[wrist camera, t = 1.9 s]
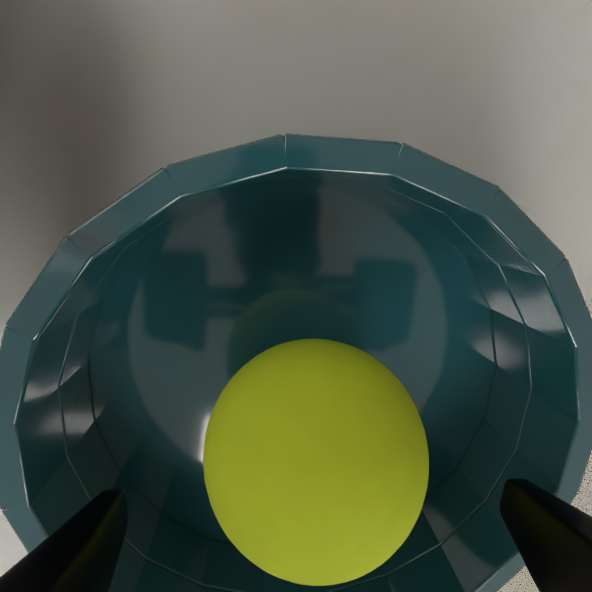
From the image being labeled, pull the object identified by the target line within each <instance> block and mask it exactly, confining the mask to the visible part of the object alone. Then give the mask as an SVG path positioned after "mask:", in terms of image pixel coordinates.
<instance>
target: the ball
mask: <svg viewBox="0 0 592 592" xmlns="http://www.w3.org/2000/svg"><path fill="white" fill-rule="evenodd" d="M203 468H204V479H205V485H206V489H207V493H208V496H209V500H210V504H211V507H212V509H213V511H214V514H215V516H216V518H217V520H218V522H219V524H220V526H221V528H222V529H223V531H224V532H225V534H226V535H227V537H228V538H229V539H230V541H231V542H232V543H233V544H234V546H235V547H236V548H237V549H238V550H239V551H240V552H241V553H242V554H243V555H244V556H245V557H246V558H247V559H249V560H250V561H251V562H252V563H254V564H255V565H256V566H258V567H259V568H261V569H262V570H264V571H265V572H267V573H269V574H271V575H273V576H275V577H278V578H281V579H283V580H286V581H289V582H292V583H297V584H302V585H310V586H326V585H335V584H340V583H344V582H348V581H351V580H354V579H357V578H359V577H361V576H364V575H366V574H367V573H369V572H371V571H373V570H374V569H376V568H377V567H379V566H380V565H382V564H383V563H384V562H385V561H386V560H388V559H389V558H390V557H391V556H392V555H393V554H394V553H395V552H396V550H397V549H398V548H399V547H400V546H401V545H402V544H403V543H404V541H405V540H406V539H407V537H408V536H409V534H410V532H411V530H412V529H413V527H414V525H415V523H416V521H417V519H418V517H419V514H420V512H421V509H422V506H423V502H424V499H425V494H426V490H427V486H428V477H429V452H428V445H427V440H426V435H425V430H424V427H423V424H422V421H421V418H420V416H419V413H418V410H417V408H416V406H415V404H414V402H413V401H412V399H411V397H410V395H409V394H408V392H407V390H406V389H405V387H404V386H403V385H402V384H401V382H400V381H399V380H398V378H397V377H396V376H395V375H394V374H393V373H392V372H391V371H390V370H389V369H388V368H387V367H386V366H384V365H383V364H382V363H381V362H379V361H378V360H377V359H375V358H374V357H372V356H371V355H369V354H368V353H366V352H364V351H362V350H360V349H358V348H356V347H354V346H351V345H348V344H345V343H341V342H337V341H332V340H327V339H300V340H294V341H289V342H286V343H282V344H279V345H276V346H274V347H272V348H270V349H267V350H265V351H264V352H262V353H260V354H259V355H257V356H255V357H254V358H253V359H252V360H250V361H249V362H248V363H246V364H245V365H244V366H243V367H242V368H241V369H240V370H239V371H238V372H237V373H236V374H235V375H234V376H233V377H232V378H231V380H230V381H229V382H228V384H227V385H226V386H225V388H224V389H223V391H222V392H221V394H220V396H219V398H218V400H217V401H216V403H215V406H214V408H213V411H212V413H211V416H210V419H209V422H208V425H207V430H206V434H205V440H204V450H203Z"/></svg>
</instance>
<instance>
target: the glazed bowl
mask: <svg viewBox="0 0 592 592" xmlns="http://www.w3.org/2000/svg"><path fill="white" fill-rule="evenodd" d="M300 339H327V340H332V341H337V342H341V343H345V344H348V345H351V346H354V347H356V348H358V349H360V350H362V351H364V352H366V353H368V354H369V355H371V356H372V357H374V358H375V359H377V360H378V361H379V362H381V363H382V364H383V365H384V366H386V367H387V368H388V369H389V370H390V371H391V372H392V373H393V374H394V375H395V376H396V377H397V378H398V380H399V381H400V382H401V384H402V385H403V386H404V387H405V389H406V390H407V392H408V394H409V395H410V397H411V399H412V401H413V402H414V404H415V406H416V408H417V410H418V413H419V416H420V418H421V421H422V424H423V427H424V430H425V435H426V440H427V445H428V452H429V477H428V486H427V490H426V494H425V499H424V502H423V506H422V509H421V512H420V514H419V517H418V519H417V521H416V523H415V525H414V527H413V529H412V530H411V532H410V534H409V536H408V537H407V539H406V540H405V541H404V543H403V544H402V545H401V546H400V547H399V548H398V549H397V550H396V552H395V553H394V554H393V555H392V556H391V557H390V558H389V559H388V560H386V561H385V562H384V563H383V564H382V565H380V566H379V567H377V568H376V569H374V570H373V571H371V572H369V573H367V574H366V575H364V576H361V577H359V578H357V579H354V580H351V581H348V582H344V583H340V584H335V585H326V586H310V585H302V584H297V583H292V582H289V581H286V580H283V579H281V578H278V577H275V576H273V575H271V574H269V573H267V572H265V571H264V570H262V569H261V568H259V567H258V566H256V565H255V564H254V563H252V562H251V561H250V560H249V559H247V558H246V557H245V556H244V555H243V554H242V553H241V552H240V551H239V550H238V549H237V548H236V547H235V546H234V544H233V543H232V542H231V541H230V539H229V538H228V537H227V535H226V534H225V532H224V531H223V529H222V528H221V526H220V524H219V522H218V520H217V518H216V516H215V514H214V511H213V509H212V507H211V504H210V500H209V496H208V493H207V489H206V485H205V479H204V468H203V450H204V440H205V434H206V430H207V425H208V422H209V419H210V416H211V413H212V411H213V408H214V406H215V403H216V401H217V400H218V398H219V396H220V394H221V392H222V391H223V389H224V388H225V386H226V385H227V384H228V382H229V381H230V380H231V378H232V377H233V376H234V375H235V374H236V373H237V372H238V371H239V370H240V369H241V368H242V367H243V366H244V365H245V364H246V363H248V362H249V361H250V360H252V359H253V358H254V357H255V356H257V355H259V354H260V353H262V352H264V351H265V350H267V349H270V348H272V347H274V346H276V345H279V344H282V343H286V342H289V341H294V340H300ZM591 450H592V318H591V316H590V313H589V311H588V308H587V306H586V303H585V301H584V298H583V296H582V293H581V291H580V289H579V286H578V284H577V281H576V279H575V276H574V274H573V271H572V269H571V266H570V264H569V262H568V260H567V259H566V258H565V255H564V254H563V253H562V252H561V251H560V250H559V249H558V248H557V247H556V246H555V244H554V243H553V242H552V241H551V240H550V239H549V238H548V237H547V236H546V235H545V234H544V233H543V232H542V231H541V230H540V229H539V228H538V227H537V226H536V225H535V224H534V223H533V222H532V221H531V220H530V219H529V218H528V216H527V215H526V214H525V213H524V212H523V211H522V210H521V209H520V208H519V207H518V206H517V205H516V204H515V203H514V202H513V201H512V200H511V199H510V198H509V197H508V196H507V195H506V194H505V193H504V192H503V191H502V190H501V189H499V187H498V186H496V185H494V184H492V183H490V182H488V181H485V180H483V179H481V178H479V177H477V176H475V175H472V174H470V173H468V172H466V171H464V170H461V169H459V168H457V167H455V166H453V165H451V164H448V163H446V162H444V161H442V160H440V159H438V158H435V157H433V156H431V155H429V154H427V153H425V152H422V151H420V150H418V149H416V148H414V147H411V146H409V145H407V144H405V143H401V144H400V143H399V142H392V141H379V140H365V139H352V138H339V137H326V136H313V135H300V134H285V135H284V136H283V135H280V134H279V135H275V136H272V137H268V138H264V139H260V140H257V141H253V142H249V143H246V144H242V145H238V146H235V147H231V148H227V149H224V150H220V151H216V152H213V153H209V154H205V155H202V156H198V157H194V158H191V159H187V160H183V161H180V162H176V163H172V164H169V165H167V166H166V168H165V167H164V168H160V169H159V170H158V171H156V172H155V173H153V174H152V175H150V176H149V177H148V178H146V179H145V180H143V181H142V182H140V183H139V184H138V185H136V186H135V187H133V188H132V189H130V190H129V191H128V192H126V193H125V194H123V195H122V196H120V197H119V198H118V199H116V200H115V201H113V202H112V203H110V204H109V205H108V206H106V207H105V208H103V209H102V210H100V211H99V212H98V213H96V214H95V215H93V216H92V217H90V218H89V219H88V220H86V221H85V222H83V223H82V224H80V225H79V226H78V227H76V228H75V229H73V230H72V231H70V233H69V234H68V236H66V237H64V239H63V240H62V242H61V243H60V245H59V246H58V248H57V249H56V251H55V252H54V253H53V255H52V256H51V258H50V259H49V261H48V262H47V264H46V265H45V267H44V268H43V270H42V271H41V273H40V274H39V276H38V277H37V279H36V280H35V282H34V283H33V284H32V286H31V287H30V289H29V290H28V292H27V293H26V295H25V296H24V298H23V299H22V301H21V302H20V304H19V305H18V307H17V308H16V310H15V311H14V313H13V314H12V315H11V317H10V318H9V320H8V321H7V323H6V327H5V329H4V332H3V337H2V342H1V346H0V509H1V510H2V512H3V514H4V516H5V517H6V519H7V520H8V522H9V523H10V525H11V527H12V528H13V530H14V531H15V533H16V534H17V536H18V538H19V539H20V541H21V542H22V544H23V546H24V547H25V549H26V550H27V552H28V553H30V552H31V551H32V550H33V549H34V548H36V547H37V546H38V545H39V544H40V543H42V542H43V541H44V540H45V539H46V538H48V537H49V536H50V535H51V534H52V533H53V532H55V531H56V530H57V529H58V528H59V527H61V526H62V525H63V524H64V523H65V522H66V521H68V520H69V519H70V518H71V517H72V516H74V515H75V514H76V513H77V512H78V511H80V510H81V509H82V508H83V507H84V506H85V505H87V504H88V503H89V502H90V501H91V500H93V499H94V498H95V497H96V496H97V495H98V494H100V493H101V492H102V491H104V490H106V489H123V490H125V493H126V501H127V514H128V524H127V530H126V533H125V537H124V540H123V544H122V547H121V551H120V554H119V557H118V561H117V564H116V568H115V571H114V575H113V578H112V581H111V585H110V588H109V592H497V591H498V590H499V589H500V588H502V587H503V586H504V585H505V584H506V583H507V582H508V581H509V580H510V579H511V578H513V577H514V576H515V575H516V574H517V573H518V572H519V571H520V570H521V569H523V568H524V567H525V566H526V565H525V563H524V561H523V559H522V557H521V555H520V553H519V551H518V549H517V547H516V545H515V543H514V541H513V539H512V537H511V535H510V533H509V531H508V529H507V527H506V525H505V523H504V521H503V519H502V516H501V514H500V509H499V505H500V500H501V496H502V492H503V488H504V484H505V482H506V480H507V479H511V478H523V479H526V480H528V481H530V482H532V483H533V484H535V485H537V486H539V487H540V488H542V489H544V490H546V491H547V492H549V493H551V494H553V495H554V496H556V497H558V498H560V499H561V500H563V501H565V502H567V503H568V504H571V502H572V501H573V499H574V498H575V496H576V495H577V492H578V491H579V489H580V486H581V483H582V479H583V476H584V473H585V470H586V467H587V463H588V460H589V457H590V454H591Z"/></svg>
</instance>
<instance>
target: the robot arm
mask: <svg viewBox="0 0 592 592" xmlns="http://www.w3.org/2000/svg"><path fill="white" fill-rule="evenodd" d="M499 509H500V514H501V516H502V519H503V521H504V523H505V525H506V527H507V529H508V531H509V533H510V535H511V537H512V539H513V541H514V543H515V545H516V547H517V549H518V551H519V553H520V555H521V557H522V559H523V561H524V563H525V565H526V567H527V569H528V570H529V572H530V574H531V576H532V578H533V580H534V582H535V584H536V586H537V588H538V589H539V591H540V592H592V517H591V516H589V515H588V514H586V513H584V512H582V511H581V510H579V509H577V508H575V507H574V506H572V505H570V504H568V503H567V502H565V501H563V500H561V499H560V498H558V497H556V496H554V495H553V494H551V493H549V492H547V491H546V490H544V489H542V488H540V487H539V486H537V485H535V484H533V483H532V482H530V481H528V480H526V479H523V478H511V479H507V480H506V482H505V484H504V488H503V492H502V496H501V500H500V505H499ZM127 524H128V514H127V501H126V493H125V490H123V489H106V490H104V491H102V492H101V493H100V494H98V495H97V496H96V497H95V498H94V499H93V500H91V501H90V502H89V503H88V504H87V505H85V506H84V507H83V508H82V509H81V510H80V511H78V512H77V513H76V514H75V515H74V516H72V517H71V518H70V519H69V520H68V521H66V522H65V523H64V524H63V525H62V526H61V527H59V528H58V529H57V530H56V531H55V532H53V533H52V534H51V535H50V536H49V537H48V538H46V539H45V540H44V541H43V542H42V543H40V544H39V545H38V546H37V547H36V548H34V549H33V550H32V551H31V552H30V553H29V554H27V555H26V556H25V557H24V558H23V559H21V560H20V561H19V562H18V563H17V564H16V565H14V566H13V567H12V568H11V569H10V570H8V571H7V572H6V573H5V574H4V575H2V576H1V577H0V592H109V588H110V585H111V581H112V578H113V575H114V571H115V568H116V564H117V561H118V557H119V554H120V551H121V547H122V544H123V540H124V537H125V533H126V530H127Z"/></svg>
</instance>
